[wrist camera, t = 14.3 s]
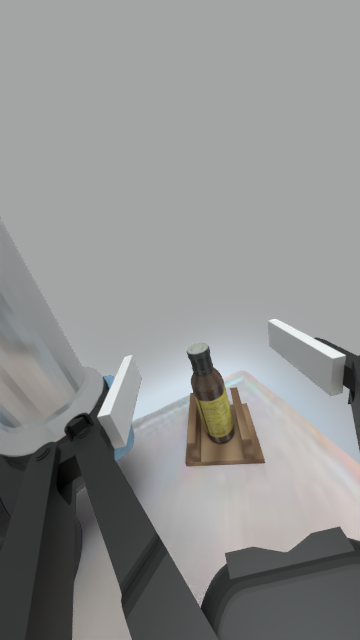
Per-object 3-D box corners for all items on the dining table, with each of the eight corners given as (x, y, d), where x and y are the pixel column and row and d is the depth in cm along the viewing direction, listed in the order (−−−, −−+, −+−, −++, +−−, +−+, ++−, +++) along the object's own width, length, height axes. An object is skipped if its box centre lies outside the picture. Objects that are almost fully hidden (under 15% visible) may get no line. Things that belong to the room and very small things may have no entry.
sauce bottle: (241, 427, 35) (224, 343, 29) (223, 452, 32) (199, 362, 26) (217, 411, 40) (198, 337, 34) (199, 431, 37) (174, 352, 31)
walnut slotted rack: (186, 466, 32) (178, 443, 30) (190, 412, 43) (184, 394, 42) (264, 462, 29) (260, 438, 28) (247, 406, 41) (243, 386, 39)
